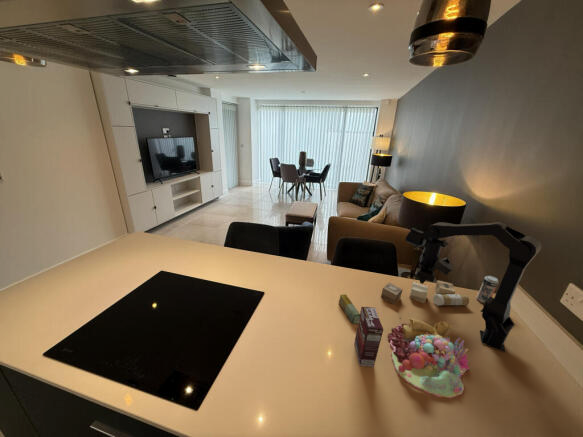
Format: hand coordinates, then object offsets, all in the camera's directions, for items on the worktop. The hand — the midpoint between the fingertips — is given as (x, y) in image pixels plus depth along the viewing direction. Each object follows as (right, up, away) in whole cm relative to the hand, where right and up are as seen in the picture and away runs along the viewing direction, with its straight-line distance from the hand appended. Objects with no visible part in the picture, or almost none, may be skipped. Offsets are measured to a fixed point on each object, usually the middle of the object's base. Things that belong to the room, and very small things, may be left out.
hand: (421, 283), depth 101 cm
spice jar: (+29, -9, +3) cm, 30 cm away
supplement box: (-34, -16, -26) cm, 45 cm away
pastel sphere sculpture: (-13, -18, -25) cm, 33 cm away
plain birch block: (0, -7, +3) cm, 8 cm away
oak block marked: (+13, -7, +5) cm, 15 cm away
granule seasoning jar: (+19, -7, -1) cm, 20 cm away
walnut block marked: (-13, -7, +1) cm, 15 cm away
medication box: (-34, -10, -8) cm, 37 cm away
